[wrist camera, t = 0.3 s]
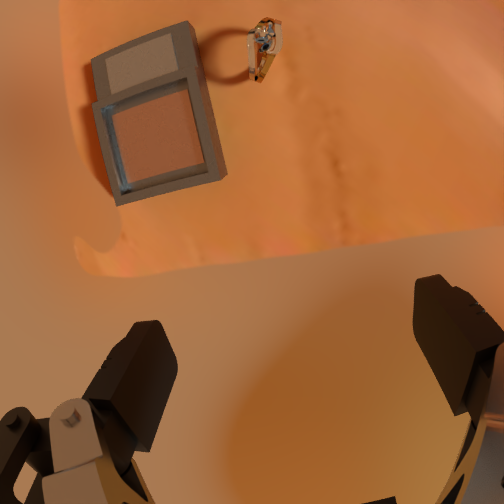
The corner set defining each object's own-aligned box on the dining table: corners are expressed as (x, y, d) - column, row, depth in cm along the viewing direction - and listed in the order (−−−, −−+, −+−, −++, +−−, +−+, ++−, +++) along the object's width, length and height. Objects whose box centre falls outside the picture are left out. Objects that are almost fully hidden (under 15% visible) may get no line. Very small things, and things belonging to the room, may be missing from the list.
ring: (264, 28, 28) (261, 1, 20) (292, 38, 28) (296, 12, 21) (241, 81, 30) (231, 66, 23) (269, 91, 31) (267, 78, 23)
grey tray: (103, 63, 30) (83, 57, 26) (194, 28, 28) (183, 15, 24) (133, 197, 36) (116, 206, 32) (227, 174, 34) (220, 180, 30)
